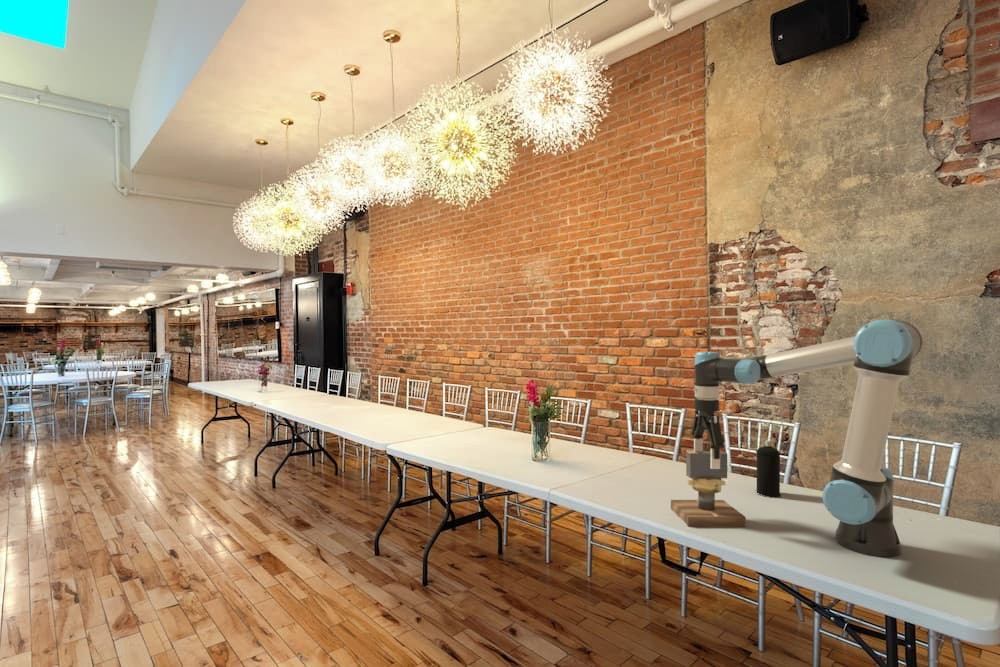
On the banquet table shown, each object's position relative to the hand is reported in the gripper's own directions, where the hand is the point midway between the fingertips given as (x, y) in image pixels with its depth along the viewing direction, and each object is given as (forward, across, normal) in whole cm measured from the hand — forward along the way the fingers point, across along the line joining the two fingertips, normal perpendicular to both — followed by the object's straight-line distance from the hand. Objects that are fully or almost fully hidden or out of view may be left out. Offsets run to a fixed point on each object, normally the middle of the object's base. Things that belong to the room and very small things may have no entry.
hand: (706, 463), depth 167 cm
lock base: (+18, 0, 0) cm, 18 cm away
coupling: (+8, 0, 0) cm, 8 cm away
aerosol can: (+18, -24, +33) cm, 45 cm away
